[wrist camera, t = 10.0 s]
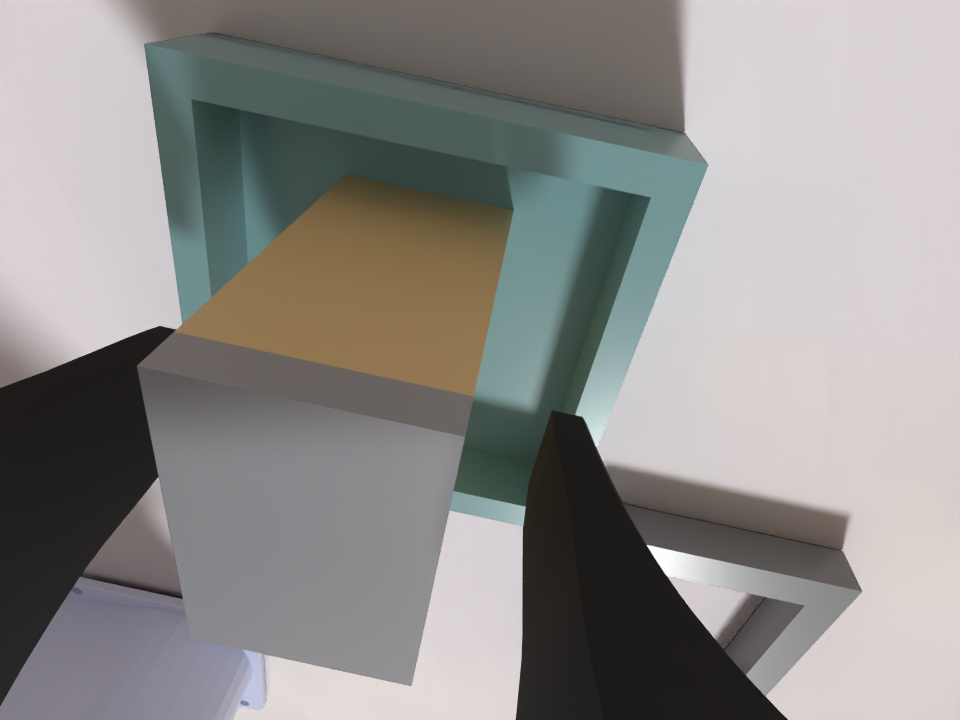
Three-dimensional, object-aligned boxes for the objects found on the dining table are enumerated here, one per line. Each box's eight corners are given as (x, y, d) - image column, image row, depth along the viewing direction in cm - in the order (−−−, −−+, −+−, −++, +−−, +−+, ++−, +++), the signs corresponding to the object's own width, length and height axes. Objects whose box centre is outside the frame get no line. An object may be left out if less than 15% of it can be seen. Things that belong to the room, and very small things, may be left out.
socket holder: (541, 657, 25) (540, 693, 23) (610, 501, 19) (613, 537, 18) (722, 696, 25) (730, 734, 23) (842, 551, 19) (862, 591, 18)
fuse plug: (336, 378, 17) (190, 637, 10) (345, 173, 14) (137, 365, 7) (471, 407, 17) (411, 686, 10) (513, 210, 14) (464, 436, 7)
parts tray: (240, 403, 19) (200, 456, 17) (212, 32, 13) (144, 44, 11) (563, 472, 19) (562, 534, 17) (685, 133, 13) (708, 164, 11)
